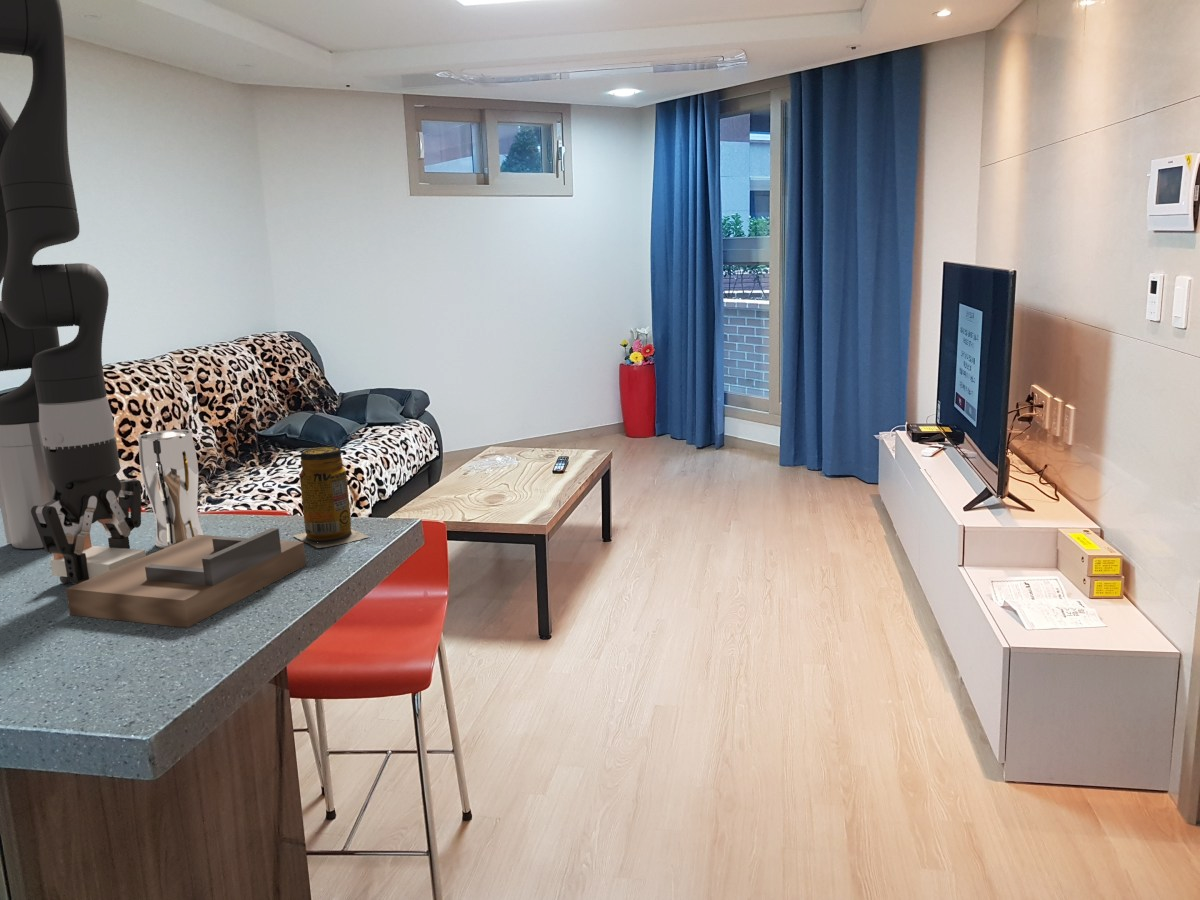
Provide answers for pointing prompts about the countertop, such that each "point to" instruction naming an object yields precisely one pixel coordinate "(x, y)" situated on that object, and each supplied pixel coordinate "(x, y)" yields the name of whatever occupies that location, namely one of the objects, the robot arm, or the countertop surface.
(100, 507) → the robot arm
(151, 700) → the countertop surface
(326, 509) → the condiment
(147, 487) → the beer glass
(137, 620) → the dock
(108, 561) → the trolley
